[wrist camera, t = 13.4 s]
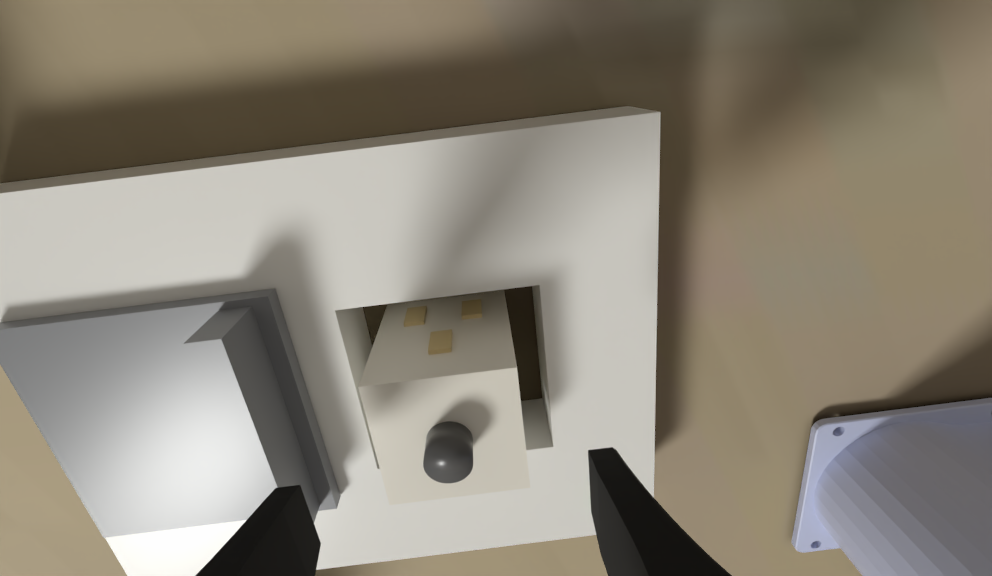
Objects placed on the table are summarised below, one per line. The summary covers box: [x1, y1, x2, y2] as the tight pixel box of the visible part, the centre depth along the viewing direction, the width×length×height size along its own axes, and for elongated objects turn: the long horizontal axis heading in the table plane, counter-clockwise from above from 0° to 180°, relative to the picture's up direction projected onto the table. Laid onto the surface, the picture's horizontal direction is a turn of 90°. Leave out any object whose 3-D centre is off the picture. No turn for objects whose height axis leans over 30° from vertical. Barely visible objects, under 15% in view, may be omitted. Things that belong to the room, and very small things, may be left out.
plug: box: [358, 290, 530, 505], centre depth 17 cm, size 4×5×6 cm
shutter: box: [0, 288, 341, 538], centre depth 16 cm, size 8×8×3 cm
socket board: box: [0, 106, 661, 576], centre depth 18 cm, size 21×16×3 cm
